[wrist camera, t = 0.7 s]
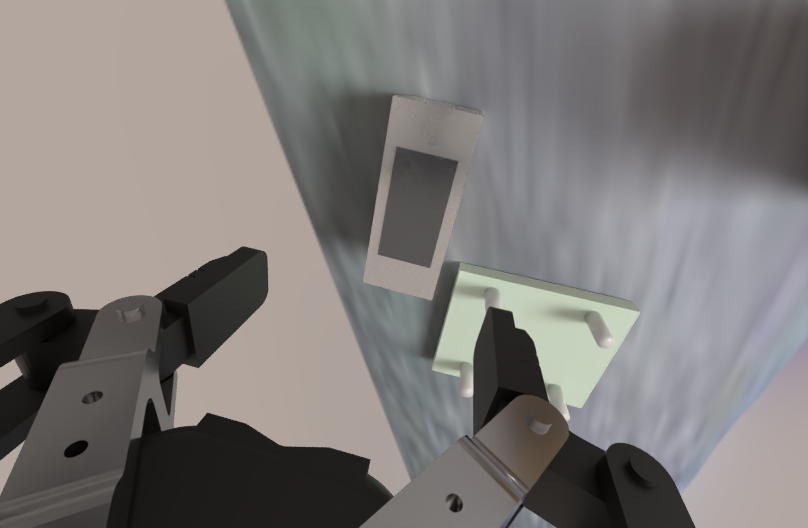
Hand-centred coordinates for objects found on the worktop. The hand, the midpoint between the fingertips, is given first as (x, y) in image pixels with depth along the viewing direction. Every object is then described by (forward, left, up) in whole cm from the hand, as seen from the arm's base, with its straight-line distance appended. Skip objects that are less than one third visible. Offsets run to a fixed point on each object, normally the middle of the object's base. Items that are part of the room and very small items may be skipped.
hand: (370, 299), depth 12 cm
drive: (0, 0, -16) cm, 16 cm away
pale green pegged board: (+11, +11, -16) cm, 22 cm away
